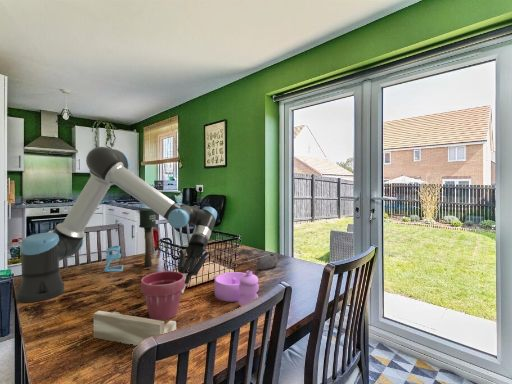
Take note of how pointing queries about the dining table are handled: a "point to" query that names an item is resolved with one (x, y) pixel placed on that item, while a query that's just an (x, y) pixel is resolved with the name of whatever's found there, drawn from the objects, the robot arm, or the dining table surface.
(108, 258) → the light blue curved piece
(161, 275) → the plant pot
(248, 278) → the container set
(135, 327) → the corner stop
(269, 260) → the perforated stone tool
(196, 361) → the dining table surface
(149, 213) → the potato masher grenade
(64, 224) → the robot arm
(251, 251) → the dining table surface
